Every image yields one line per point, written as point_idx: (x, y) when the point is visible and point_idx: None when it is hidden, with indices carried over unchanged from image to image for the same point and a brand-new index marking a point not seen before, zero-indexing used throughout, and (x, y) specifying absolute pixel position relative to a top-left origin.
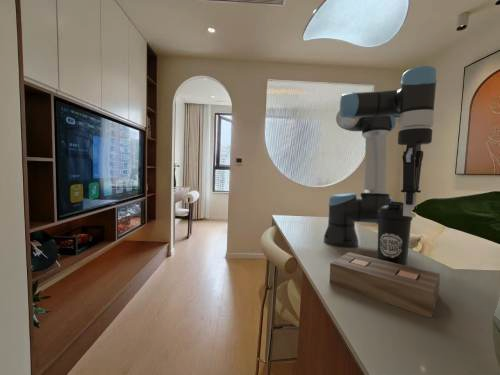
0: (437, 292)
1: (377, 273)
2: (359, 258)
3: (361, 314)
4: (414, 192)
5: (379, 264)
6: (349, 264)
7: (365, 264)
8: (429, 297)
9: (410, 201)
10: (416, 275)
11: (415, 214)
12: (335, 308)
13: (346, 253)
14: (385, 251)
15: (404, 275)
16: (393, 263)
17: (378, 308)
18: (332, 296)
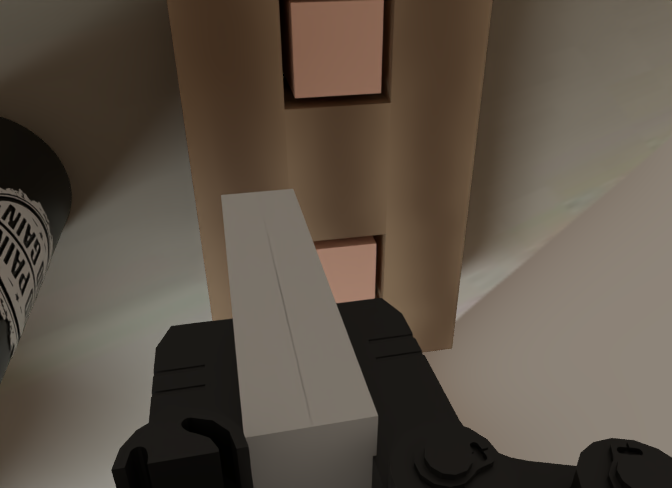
0: None
1: (435, 166)
2: None
3: (584, 114)
4: (473, 433)
5: None
6: (410, 294)
7: (352, 250)
8: None
9: (411, 345)
10: (313, 8)
11: (240, 205)
12: (594, 189)
13: None
14: (46, 261)
15: (368, 60)
16: (202, 161)
17: (506, 86)
18: (520, 234)
